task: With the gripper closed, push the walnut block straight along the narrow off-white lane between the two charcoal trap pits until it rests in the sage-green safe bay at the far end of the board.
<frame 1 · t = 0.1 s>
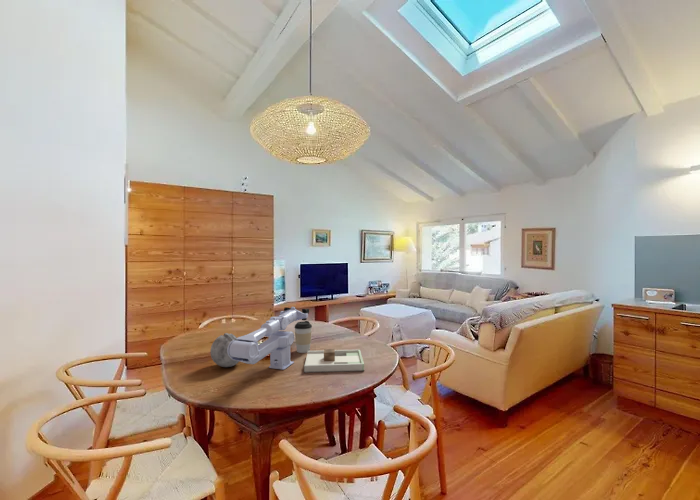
hand: (301, 310, 165), 22 cm above the table, tool horizontal, fingers open, 7 cm apart
decorative orb: (227, 366, 146), on the table
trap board: (334, 363, 149), on the table
walnut block: (329, 359, 149), point 2 cm above the table, touching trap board
coffee cup: (303, 351, 167), on the table
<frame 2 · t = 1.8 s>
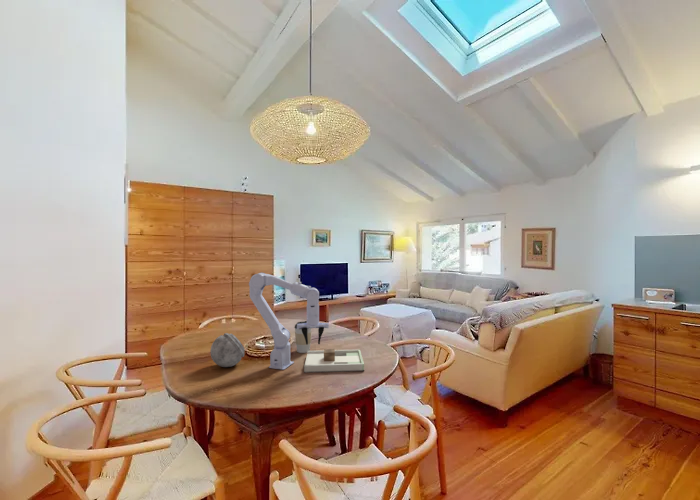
hand: (313, 343, 148), 9 cm above the table, tool pointing down, fingers open, 5 cm apart
nothing on the table moved.
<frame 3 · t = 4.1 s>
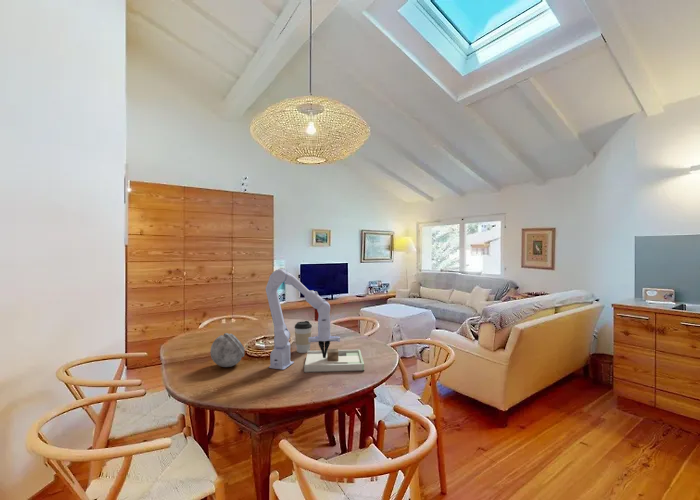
hand: (324, 357, 148), 3 cm above the table, tool pointing down, fingers closed
walnut block: (332, 359, 149), point 2 cm above the table, touching gripper
everything else where it was.
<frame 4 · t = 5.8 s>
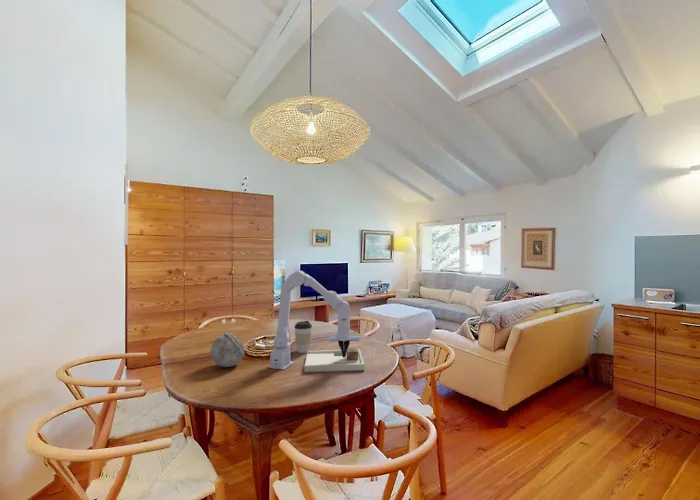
hand: (343, 356, 149), 3 cm above the table, tool pointing down, fingers closed
walnut block: (352, 358, 149), point 2 cm above the table, touching gripper, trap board
everything else where it was.
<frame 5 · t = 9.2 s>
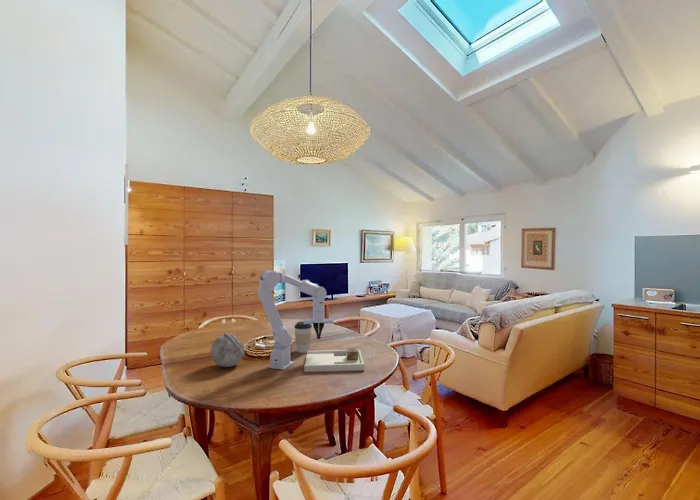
hand: (318, 338, 157), 9 cm above the table, tool pointing down, fingers closed
walnut block: (352, 358, 149), point 2 cm above the table, touching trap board
everything else where it was.
at the end: walnut block inside the target area on the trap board (0.6 cm from its centre), point 2.0 cm above the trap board's base; walnut block tilted 0°; walnut block moved 10.7 cm from its start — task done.
